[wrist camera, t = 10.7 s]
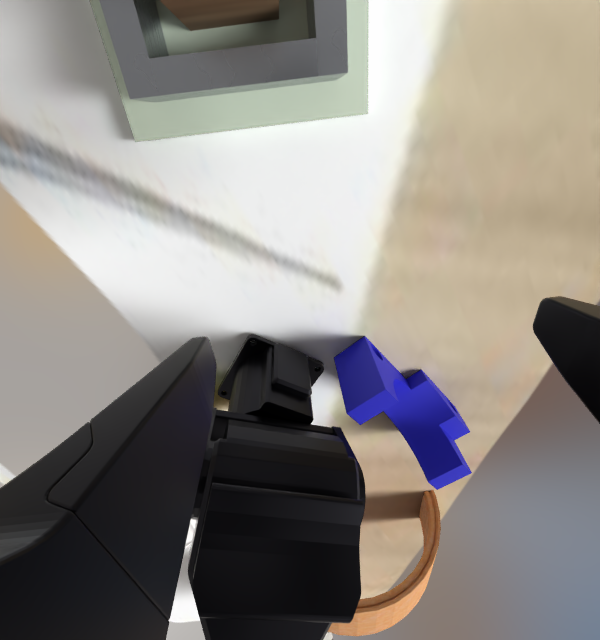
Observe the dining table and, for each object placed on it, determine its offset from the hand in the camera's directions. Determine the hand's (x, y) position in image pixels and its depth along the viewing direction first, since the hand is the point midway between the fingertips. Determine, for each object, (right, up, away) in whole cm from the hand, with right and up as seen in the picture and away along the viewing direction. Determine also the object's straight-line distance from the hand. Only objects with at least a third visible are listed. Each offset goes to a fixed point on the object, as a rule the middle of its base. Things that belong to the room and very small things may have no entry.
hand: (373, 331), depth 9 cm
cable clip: (+6, -5, +19) cm, 21 cm away
